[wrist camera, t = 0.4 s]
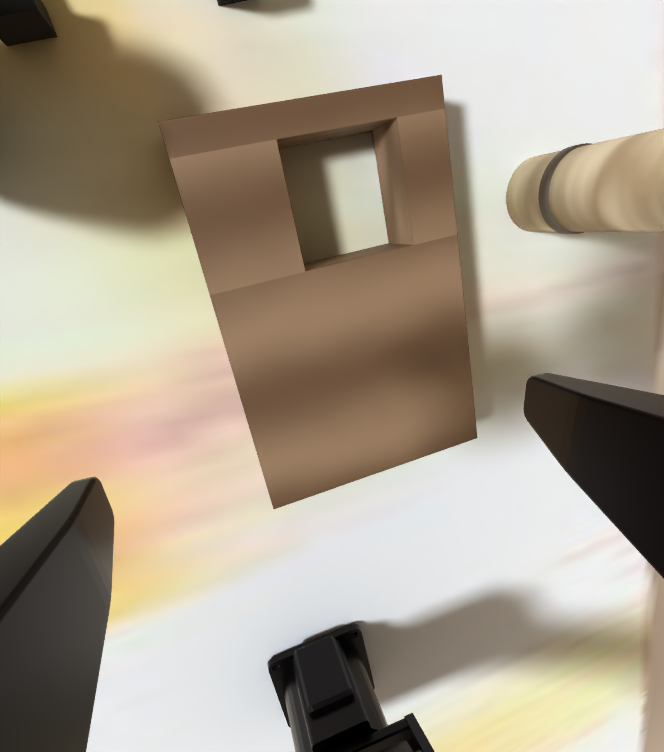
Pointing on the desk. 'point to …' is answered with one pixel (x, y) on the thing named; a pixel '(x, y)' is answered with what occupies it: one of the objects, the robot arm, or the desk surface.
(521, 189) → the birch dowel
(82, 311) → the desk surface
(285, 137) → the walnut board
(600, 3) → the desk surface
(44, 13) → the red board with handle
